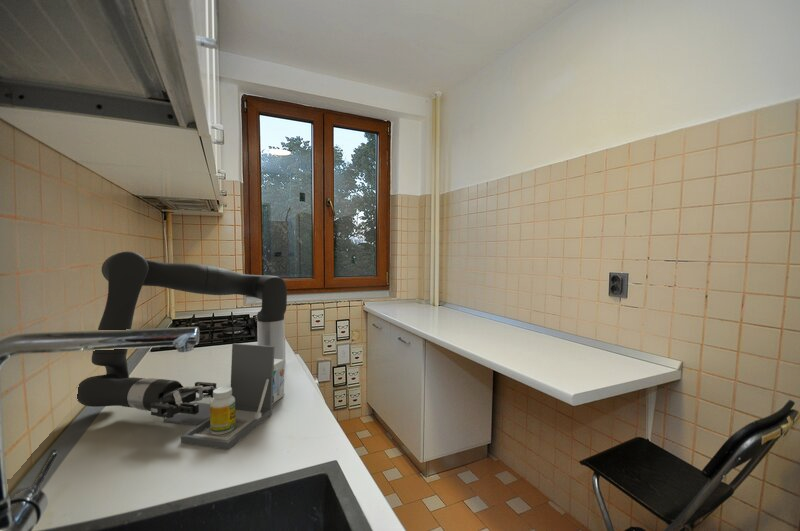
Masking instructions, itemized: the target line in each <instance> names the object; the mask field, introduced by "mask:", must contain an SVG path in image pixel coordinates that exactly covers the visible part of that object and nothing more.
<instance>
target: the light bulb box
mask: <svg viewBox="0 0 800 531" xmlns="http://www.w3.org/2000/svg"><path fill="white" fill-rule="evenodd" d="M284 396H285V365H284V360H282V359H274V375H273V400H272V405H273V404H274V403H276V402H277V401H279V400H280V399H281V398H283V397H284Z"/></svg>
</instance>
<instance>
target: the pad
mask: <svg viewBox="0 0 800 531" xmlns="http://www.w3.org/2000/svg"><path fill="white" fill-rule="evenodd" d="M194 403H195V404H198V405H199V412H198V413H197V414H195V415H194V414H186V413H182V414H180V415H177V414H174V417H172V418H164V419H163V422H166V423H175V424H182V425H189V426H195V425H199V424H201V423H202V422H204V421H205V420H207V419H208V418H210V403H205V402H199V401H195V402H194Z"/></svg>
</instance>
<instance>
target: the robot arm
mask: <svg viewBox="0 0 800 531" xmlns="http://www.w3.org/2000/svg"><path fill="white" fill-rule="evenodd" d="M101 274H102V276H103V277H104V279H105V280H106V281H107V282H108V284H107V285H108V286H107V288H108V289H107V299H106V303H105V307H104V310H103V314H102V316H101V319H100V321H99V325H98V328H97V330H126V329H131V330H132V326H133V321H134V315H135V310H136V306H137V304H138V303H137V302H138V300H139V296H140V293H141V290H142V288H143V287H158V288H165V289H166V288H167V289H170V290H176V291H181V292H185V293H190V294H191V293H193V294H199V295H206V296H207V295H211V296H230V295H231V296H232V295H238V296H240V295H241V296H246V297H251V298H256V299H259V300H261V309H260V310H259V311H258V312H257V314H256V318H257V319H256V322H257V323H256V326H257V335H256V336H257V345H263V346H275V349H274V359H282V360H284V366H285V365H286V364H285V363H286V337H285V314H286V312H287V307H288V306H287V305H288V304H287V302H288V301H287V300H288V299H287V298H288V287H287V283H286V281H285V280H284V279H283V278H282V277H280V276H277V275H267V274H265V275H261V274H245V273H241V272H237V271H234V270H231V269H227V268H223V267H218V266H213V265H208V264H201V263H200V264H199V263H183V262H182V263H180V262H179V263H178V262H177V263H172V262H162V261H161V262H160V261H156V260H152V259H147V258H145V257H144V256H143V255H141V254H139V253H137V252H134V251H121V252H118V253H115V254H112V255H110V256H109V257H107V258H106V259H105V261H104V262H103V263H102V265H101ZM128 349H129V348H128ZM128 349H114V350H95V351H93V350H92V354H91V363H92V365H95V366H98V367H99V366H100V367H105V371H106V372H105V374H100V375H99V374H98V375H93V376H89V377H86V378H85V379H83V380H81V381H80V383H79V384H78V385H79V387H78V394H77V399H78V400H77V399H76V400H77V402H79V404H81V405H83V406H86V407H91V408H92V407H117V406H118V407H123V408H132V409H137V410H140V411H146V412H150V415H151V416H154V417H155V416H156V417H161V418H164V419H166V418H172V417H174V414H177V415H180V414H182V413H186V414H194V415H195V414H197V413H198V412H199V405H198V404H195V402H200V401H203V399H207V398H212V399H213V391H214V390H215V389H217V388H218V387H217V383H216V382H205V381H196V382H194V386H183V384H182V383H181V382H180V381H177V380H175V379H166V378H165V379H164V378H153V377H151V378H145V377H130V375H129V374H130V373H129V369H128V362H127V354H128ZM197 394H198V396H197ZM193 402H194V403H193Z"/></svg>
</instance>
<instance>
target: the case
mask: <svg viewBox="0 0 800 531" xmlns="http://www.w3.org/2000/svg"><path fill="white" fill-rule="evenodd" d="M231 347H232V349H231V368H230V387H231V388H232V394H231V395H232V396H234V398H235V421H236V422H239V421H240V423H241V422H242V423H243V424H242V425H241V426H240V427H238V428H237V429H235V430H234V431H232V432H231V433H230V434H229V435H228V436H226V437H222V436H217V435H209V434H203V433H201V432H203V431H205V430H206V429H208V428H210V418H208V419H207V420H205V421H204V422H202V423H201V424H199V425H197V426H195V427H193V428H191V429H190V430H188V431H186V432H185V433H183V434H182V435H180V443H181V444H188V445H192V446H201V447H208V448H215V449H220V450H221V449H223V450H230V449H231V448H232V447H234V446H235V445H236V444H238V443H239V442H240V441H241V440H242V439H243V438H245V437H246V436H247V435H248V434H250V433H251V432H252V431H253V430H254V429H255V428H257V427H258V426H259V425H260V424H262V423H263V422H264V421H265V420H266V419H268V418H269V417H271V415H272V410H273V407H274V406H273V404H272V400H273V375H274V349H275V346H263V345H258V344H248V343H247V344H245V343H235V342H234V343H232V345H231ZM261 422H262V423H261ZM256 426H257V427H256ZM205 428H206V429H205Z"/></svg>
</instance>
